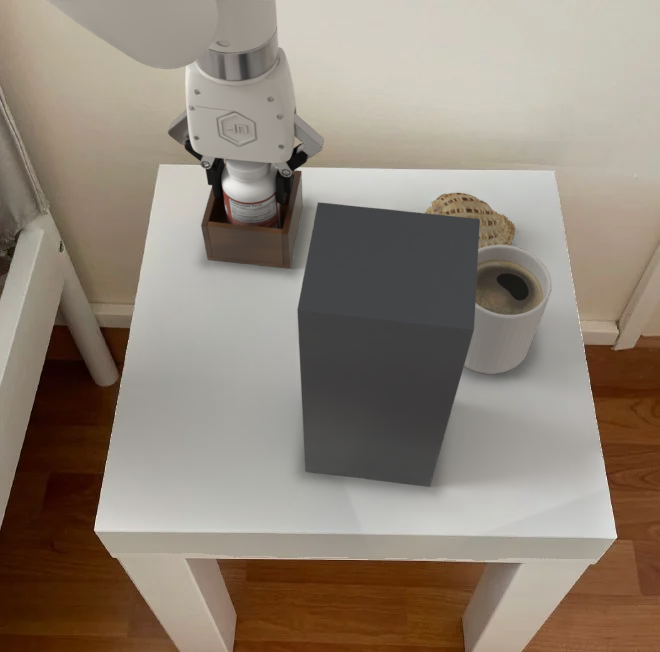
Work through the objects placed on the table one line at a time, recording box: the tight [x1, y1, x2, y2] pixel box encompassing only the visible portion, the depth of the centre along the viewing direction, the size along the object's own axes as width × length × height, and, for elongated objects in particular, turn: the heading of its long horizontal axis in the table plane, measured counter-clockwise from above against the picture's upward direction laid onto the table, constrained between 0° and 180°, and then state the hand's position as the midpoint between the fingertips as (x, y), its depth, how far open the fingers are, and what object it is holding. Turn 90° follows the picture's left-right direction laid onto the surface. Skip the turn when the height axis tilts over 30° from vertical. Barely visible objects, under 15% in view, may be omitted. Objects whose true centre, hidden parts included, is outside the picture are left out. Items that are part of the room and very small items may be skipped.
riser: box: [296, 201, 480, 488], centre depth 68 cm, size 12×10×26 cm
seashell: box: [424, 192, 516, 249], centre depth 90 cm, size 8×6×10 cm
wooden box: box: [200, 162, 304, 269], centre depth 90 cm, size 9×9×6 cm
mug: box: [464, 245, 553, 375], centre depth 81 cm, size 11×10×10 cm
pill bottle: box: [221, 159, 282, 229], centre depth 87 cm, size 6×6×11 cm
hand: (251, 190), depth 86 cm, fingers closed on pill bottle, 6 cm apart
